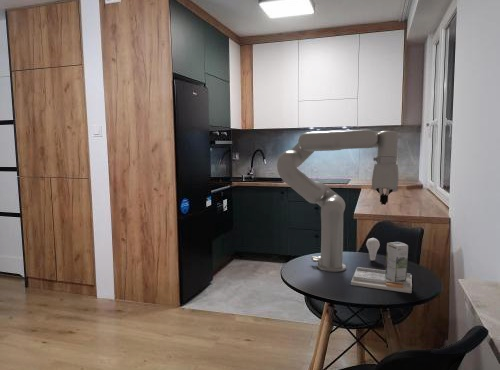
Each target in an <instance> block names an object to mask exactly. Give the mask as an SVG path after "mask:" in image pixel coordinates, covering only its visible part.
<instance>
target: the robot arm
mask: <svg viewBox="0 0 500 370" xmlns="http://www.w3.org/2000/svg"><path fill="white" fill-rule="evenodd" d="M398 139H399V134H398V132H397V131H395V130H382V131H375V130H372V129H358V130H355V129H354V130H326V131H324V130H323V131H310V132H309V131H308V132H303V133H302V134H300V135H299V137H298V140H297V141H298V142H297V143H296V144H295V145H294V146H293V147H292V148H291V149H290V150H285V151H283V152H282V153H281V154H280V155H279V156H278V159H277V163H276V168H277V173H278V175H279V177H280V178H281V179H282V181H283V182H284V183H285V184H286V185H288V186H289V187H290V188H291V189H292V190H294V191H295V192H296V193H297V194H298V195H299V196H300V197H302V198H303V199H305V201H306V202H308V203H309V204H317V205H318V206H319V207H320V220H321V224H320V225H321V231H320V233H321V234H320V235H321V237H320V238H321V241H320V244H321V245H320V256H316V255H314V256H313V255H312V256H311V261H312V262H315V263H317V264H316V267H317V268H318V269H319V270H321V271H324V272H330V273H338V272H343V271H345V270H347V266H346V264H345V263H343V258H344V257H343V252H344V214H345V213H344V212H345V209H346V202H345V200H344V199H343V197H342V196H340V195H339V194H338V193H337V192H335V191H334V190H333V189H331V187H329V186H328V185H326V184H325V183H323V182H321V181H318V180H317V181H316V180H313V179H311V178H310V177H309V176H307V174H305V173H304V172H302V171H300V170H299V169H298V168H299V167H300V166H302V165H303V163H304V162H305V161H307V159H309V158H310V157H311V156H312V155H313V154H314V152H323V151H324V152H327V151H328V152H330V151H341V150H353V149H373V148H377V155H376V157H373V161H375V163H374V165H373V171H372V175H371V176H372V177H371V187H370V189H371V190H373V191H376V192H377V193H378V194H379V202H380V205H387V204H388V202H389V195H390V194H391V193H393V192H398V191H399V187H398V186H399V167H398V166H399V165H398V164H397V152H398ZM384 189H386V190H385V192H384Z"/></svg>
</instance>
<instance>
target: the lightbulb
mask: <svg viewBox="0 0 500 370" xmlns="http://www.w3.org/2000/svg"><path fill="white" fill-rule="evenodd" d="M380 243H381V242H380V241H379V240H378V239H377V238H375V237H371V238H368V239H367V240H366V243H365V245H366V248H367V250H368V255H369V260H370V261H372V262H374V261H375V260H376V256H377V253H378V250H379V248H380V245H381V244H380Z"/></svg>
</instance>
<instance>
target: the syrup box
mask: <svg viewBox="0 0 500 370" xmlns="http://www.w3.org/2000/svg"><path fill="white" fill-rule="evenodd" d="M408 254H409V245H408V244H406V243H404V242H401V241H394V242H387V243H386V256H385V257H386V258H385V263H386V267H385V270H386V273H385V277H386V278H388V279H390V280H392V281H404V280H406V276H407V273H408V260H409V259H408V257H409V255H408Z"/></svg>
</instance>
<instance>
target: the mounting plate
mask: <svg viewBox="0 0 500 370" xmlns="http://www.w3.org/2000/svg"><path fill="white" fill-rule="evenodd" d="M356 271H357V268H356V269H355V272H354V273H353V276H355V273H356ZM412 276H413V275H412V274H410V287H404V286H403V285H400V284H392V283H386V284H381V283H374V282H366V281H359V280H353V277H352V279H351V280H350V285H351V286H355V287H364V288H365V287H366V288H372V289H378V290H379V289H380V290H386V291H392V292H393V291H394V292H400V293H406V294H407V293H408V294H412V291H413V289H412V288H413V283H412V279H413V278H412Z"/></svg>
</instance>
